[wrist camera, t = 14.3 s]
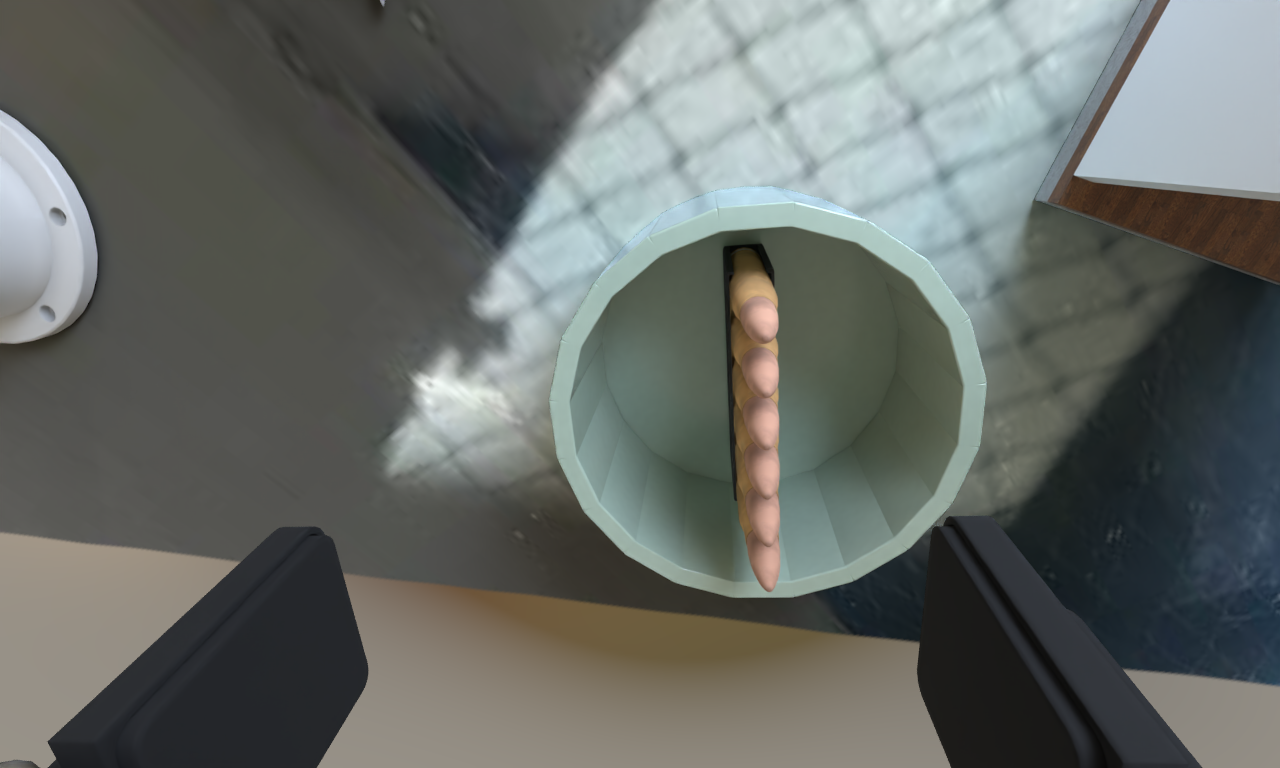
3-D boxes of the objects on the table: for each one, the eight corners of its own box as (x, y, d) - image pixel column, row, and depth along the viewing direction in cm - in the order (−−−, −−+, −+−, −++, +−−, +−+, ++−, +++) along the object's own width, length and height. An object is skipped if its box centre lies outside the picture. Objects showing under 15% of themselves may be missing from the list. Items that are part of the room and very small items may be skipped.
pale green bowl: (607, 490, 35) (576, 598, 27) (574, 199, 30) (522, 222, 22) (900, 484, 34) (964, 597, 25) (920, 172, 28) (1010, 185, 20)
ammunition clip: (722, 245, 29) (732, 308, 18) (763, 242, 29) (798, 304, 18) (730, 454, 33) (742, 613, 22) (766, 453, 33) (797, 613, 22)
